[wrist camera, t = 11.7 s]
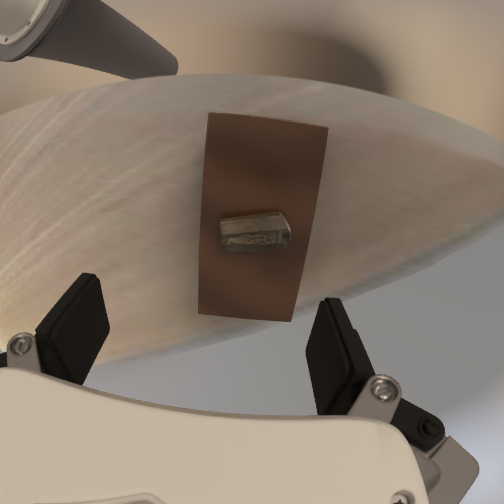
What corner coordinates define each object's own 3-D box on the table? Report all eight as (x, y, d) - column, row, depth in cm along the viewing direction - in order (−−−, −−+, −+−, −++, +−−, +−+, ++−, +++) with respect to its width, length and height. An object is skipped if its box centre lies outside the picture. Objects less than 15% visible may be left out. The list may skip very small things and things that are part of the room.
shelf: (221, 116, 29) (208, 112, 21) (307, 126, 30) (328, 127, 21) (209, 270, 38) (198, 314, 29) (282, 277, 38) (290, 322, 30)
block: (219, 214, 25) (217, 221, 23) (288, 209, 24) (291, 215, 23) (224, 252, 26) (223, 260, 24) (289, 246, 26) (292, 255, 24)
